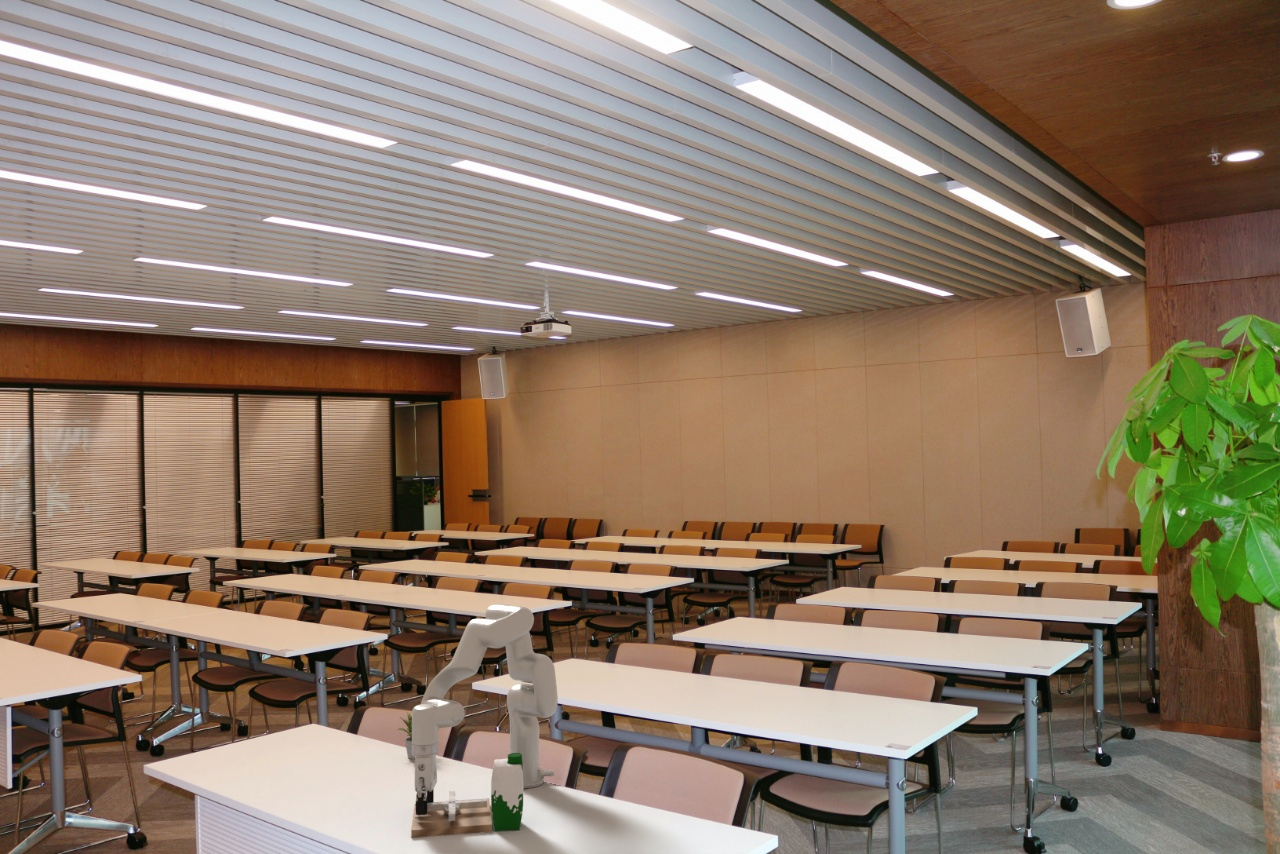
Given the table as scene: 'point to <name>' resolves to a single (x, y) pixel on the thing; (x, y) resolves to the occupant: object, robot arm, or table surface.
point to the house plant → (408, 740)
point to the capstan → (455, 805)
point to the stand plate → (452, 822)
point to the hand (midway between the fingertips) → (424, 808)
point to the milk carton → (507, 793)
